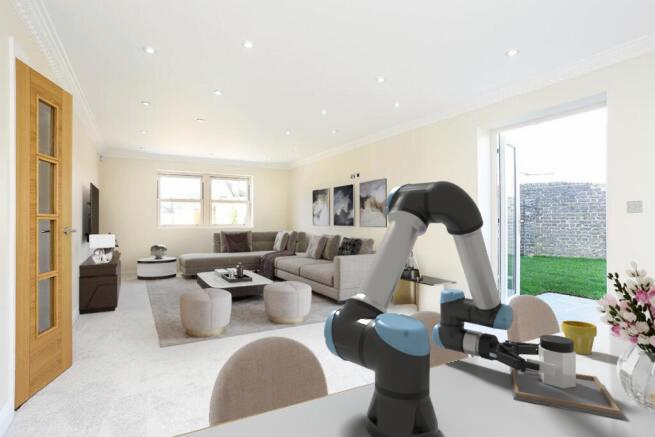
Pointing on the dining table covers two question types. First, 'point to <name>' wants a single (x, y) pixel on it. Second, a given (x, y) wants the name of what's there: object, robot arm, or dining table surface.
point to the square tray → (565, 393)
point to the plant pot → (580, 335)
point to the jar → (558, 360)
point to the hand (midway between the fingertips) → (561, 363)
